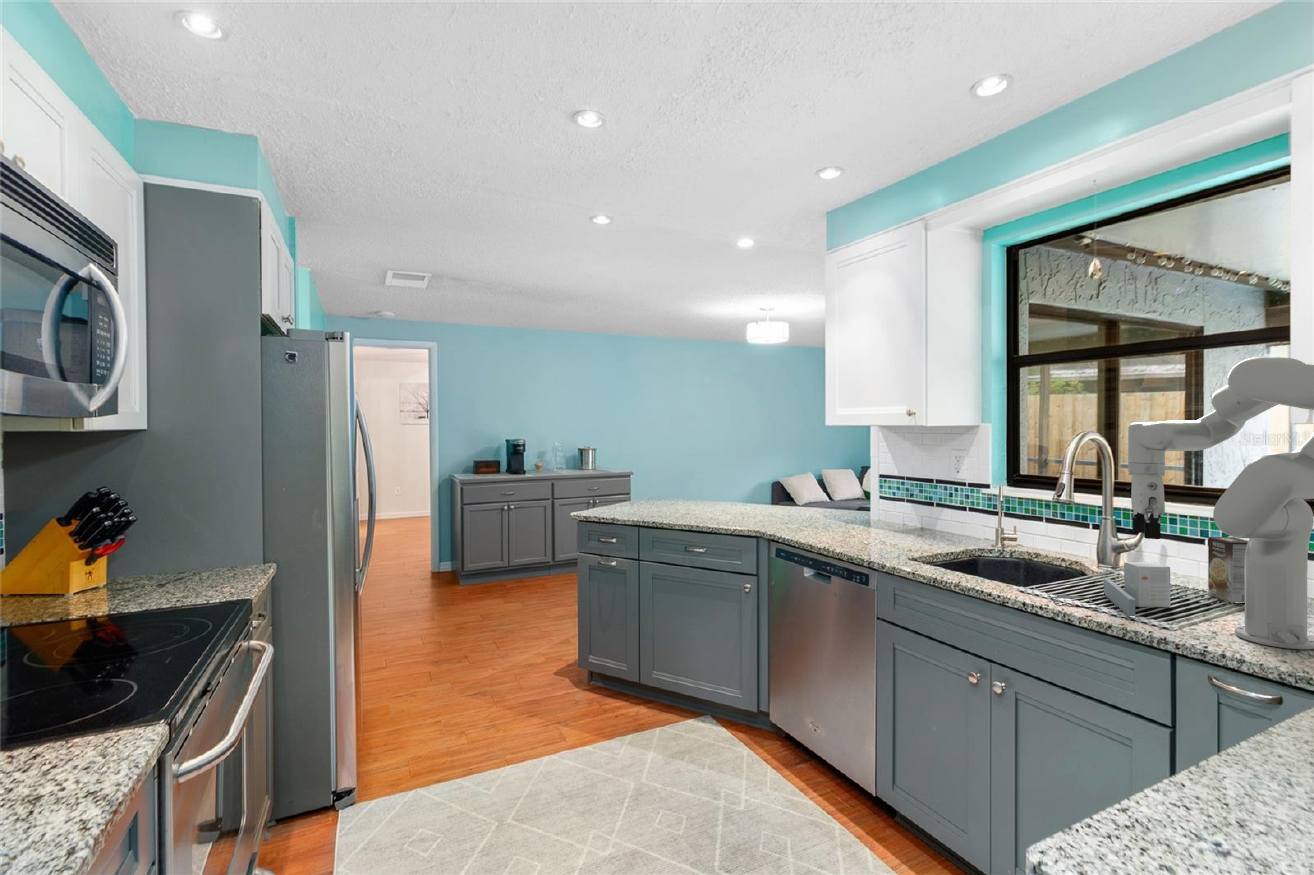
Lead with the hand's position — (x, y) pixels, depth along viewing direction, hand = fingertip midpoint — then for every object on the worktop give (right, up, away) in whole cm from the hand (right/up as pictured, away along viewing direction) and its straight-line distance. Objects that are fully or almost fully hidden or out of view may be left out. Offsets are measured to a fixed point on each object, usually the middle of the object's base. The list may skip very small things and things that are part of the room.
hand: (1146, 535), depth 161 cm
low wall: (-8, -18, -1) cm, 20 cm away
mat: (-17, -18, +3) cm, 25 cm away
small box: (0, -18, 0) cm, 18 cm away
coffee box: (+26, -18, +4) cm, 32 cm away
